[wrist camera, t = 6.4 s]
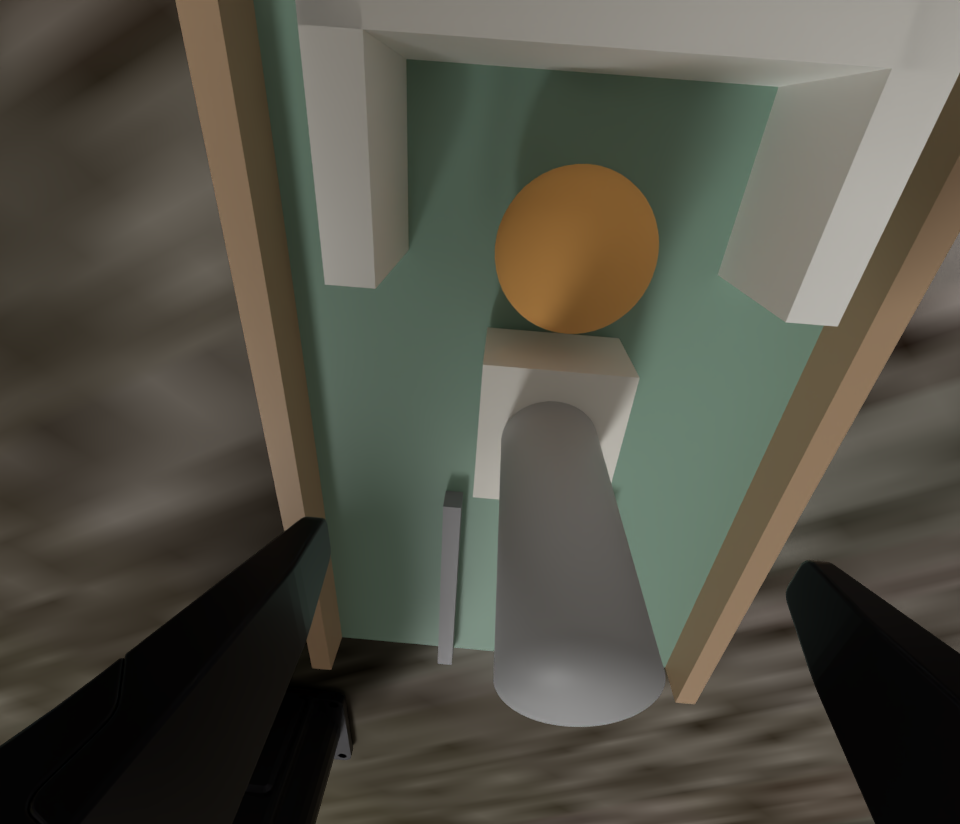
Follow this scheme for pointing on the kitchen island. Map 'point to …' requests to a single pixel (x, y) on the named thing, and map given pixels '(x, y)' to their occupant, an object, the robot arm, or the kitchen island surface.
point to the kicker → (562, 529)
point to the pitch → (482, 303)
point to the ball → (576, 248)
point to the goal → (660, 54)
